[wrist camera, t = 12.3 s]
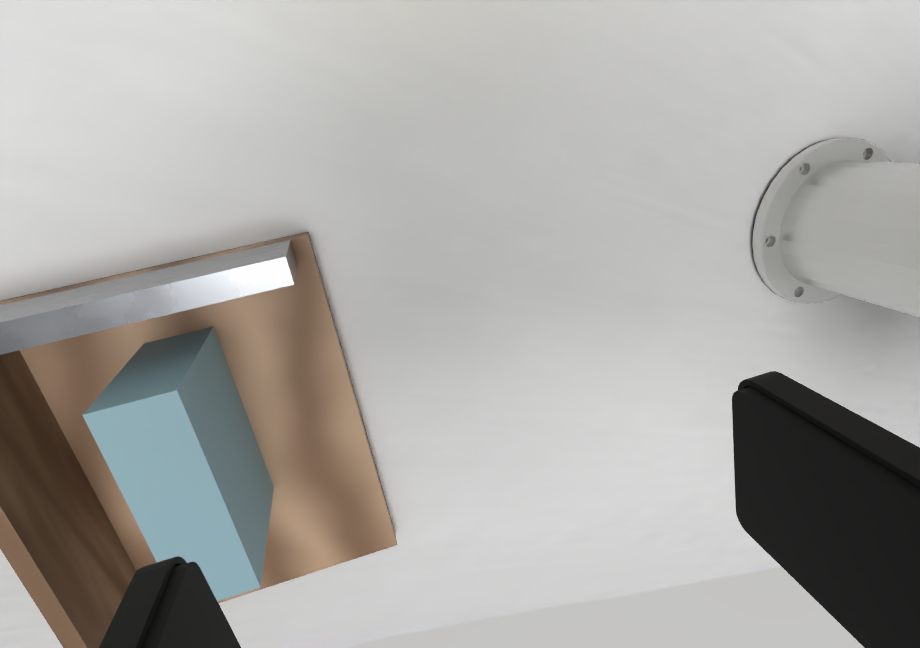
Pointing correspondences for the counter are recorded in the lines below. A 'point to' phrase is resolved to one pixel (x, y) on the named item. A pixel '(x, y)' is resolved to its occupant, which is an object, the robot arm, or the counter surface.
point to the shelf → (260, 388)
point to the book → (188, 459)
